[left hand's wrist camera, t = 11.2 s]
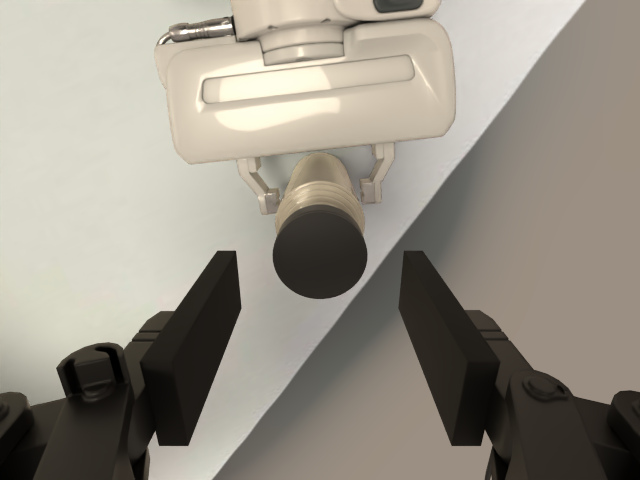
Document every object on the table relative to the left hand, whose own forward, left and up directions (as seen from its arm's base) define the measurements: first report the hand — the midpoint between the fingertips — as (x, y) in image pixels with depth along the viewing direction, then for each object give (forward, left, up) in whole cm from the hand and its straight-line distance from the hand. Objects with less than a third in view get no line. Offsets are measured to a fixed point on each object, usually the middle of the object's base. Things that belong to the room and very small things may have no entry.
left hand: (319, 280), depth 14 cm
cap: (0, 0, -3) cm, 3 cm away
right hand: (-1, -1, -14) cm, 14 cm away
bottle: (0, 0, -20) cm, 20 cm away
